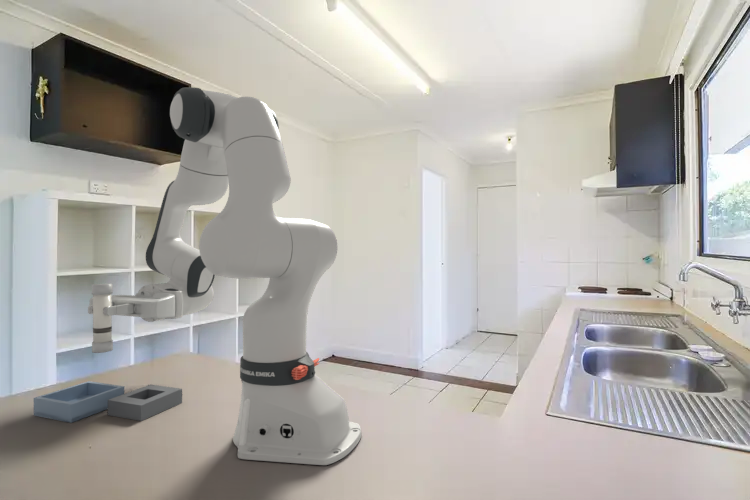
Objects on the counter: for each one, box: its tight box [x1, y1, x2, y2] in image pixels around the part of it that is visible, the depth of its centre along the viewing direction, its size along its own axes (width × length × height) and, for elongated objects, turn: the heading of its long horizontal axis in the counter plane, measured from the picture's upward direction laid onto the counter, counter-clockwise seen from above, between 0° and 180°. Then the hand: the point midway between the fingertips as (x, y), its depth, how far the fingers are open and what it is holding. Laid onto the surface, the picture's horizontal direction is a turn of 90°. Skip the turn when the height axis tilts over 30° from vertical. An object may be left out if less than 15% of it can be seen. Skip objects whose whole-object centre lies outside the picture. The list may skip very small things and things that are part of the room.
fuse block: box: [107, 383, 183, 422], centre depth 84 cm, size 9×10×3 cm
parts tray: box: [33, 380, 125, 424], centre depth 84 cm, size 11×11×4 cm
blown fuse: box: [91, 282, 114, 354], centre depth 84 cm, size 4×4×14 cm
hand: (97, 310), depth 84 cm, fingers closed on blown fuse, 3 cm apart
